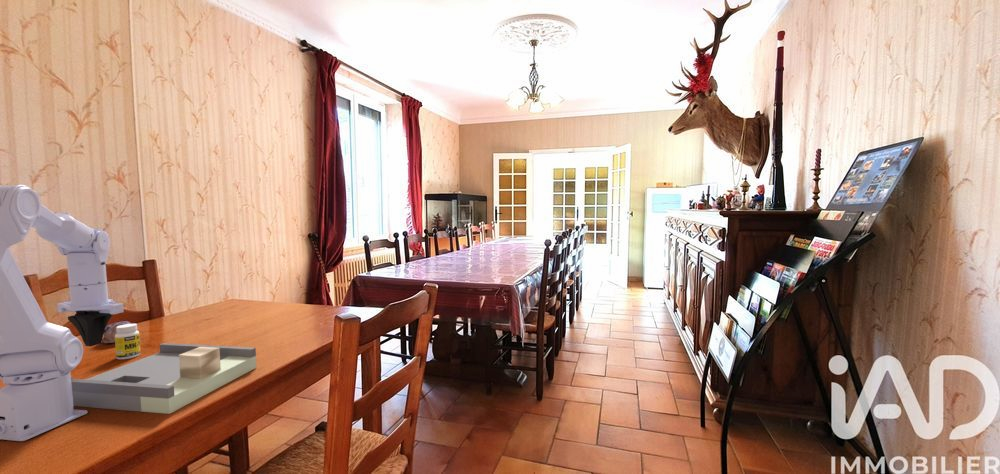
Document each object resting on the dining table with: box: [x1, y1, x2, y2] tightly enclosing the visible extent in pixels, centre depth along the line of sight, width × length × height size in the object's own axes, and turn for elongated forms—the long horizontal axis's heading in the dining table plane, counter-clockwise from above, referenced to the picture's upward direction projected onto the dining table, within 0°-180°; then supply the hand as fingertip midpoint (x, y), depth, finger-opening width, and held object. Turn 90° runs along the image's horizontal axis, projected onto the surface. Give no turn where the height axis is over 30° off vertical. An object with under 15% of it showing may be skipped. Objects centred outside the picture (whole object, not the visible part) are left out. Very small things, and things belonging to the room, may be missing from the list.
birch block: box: [179, 347, 221, 379], centre depth 86 cm, size 5×5×5 cm
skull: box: [101, 320, 132, 344], centre depth 118 cm, size 12×8×6 cm, turn 44°
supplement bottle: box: [114, 323, 142, 360], centre depth 104 cm, size 5×5×8 cm
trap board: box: [71, 342, 257, 415], centre depth 88 cm, size 22×26×5 cm
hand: (93, 344), depth 86 cm, fingers closed
